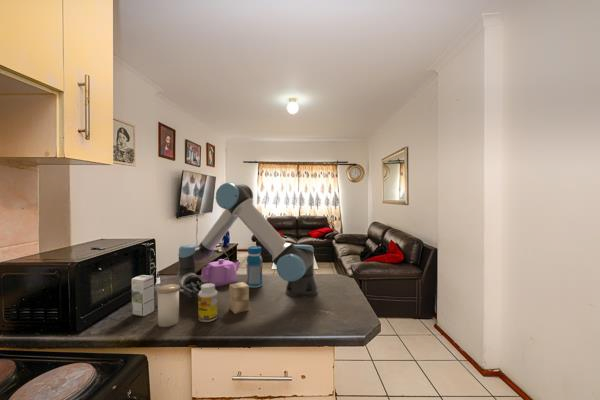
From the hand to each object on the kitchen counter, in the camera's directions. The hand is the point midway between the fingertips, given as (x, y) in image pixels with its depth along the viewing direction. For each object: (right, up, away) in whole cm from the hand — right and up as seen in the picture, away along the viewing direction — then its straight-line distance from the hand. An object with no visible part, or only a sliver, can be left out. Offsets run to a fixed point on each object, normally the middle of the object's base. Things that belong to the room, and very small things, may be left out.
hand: (205, 298), depth 107 cm
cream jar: (-12, -7, -6) cm, 15 cm away
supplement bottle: (+2, -7, -3) cm, 8 cm away
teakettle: (-6, -6, +43) cm, 43 cm away
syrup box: (-25, -7, +2) cm, 26 cm away
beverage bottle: (+13, -6, +36) cm, 39 cm away
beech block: (+12, -7, +6) cm, 15 cm away
